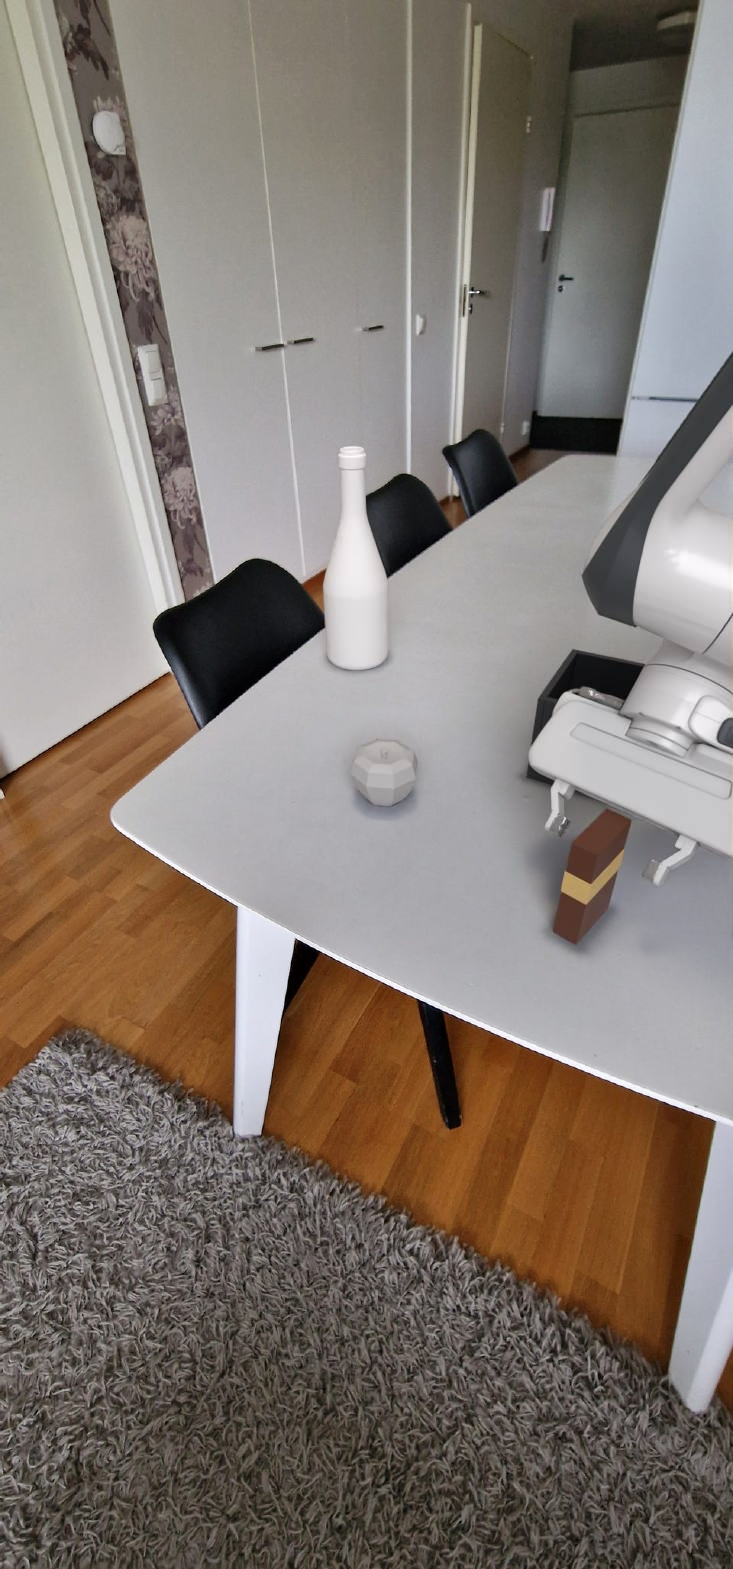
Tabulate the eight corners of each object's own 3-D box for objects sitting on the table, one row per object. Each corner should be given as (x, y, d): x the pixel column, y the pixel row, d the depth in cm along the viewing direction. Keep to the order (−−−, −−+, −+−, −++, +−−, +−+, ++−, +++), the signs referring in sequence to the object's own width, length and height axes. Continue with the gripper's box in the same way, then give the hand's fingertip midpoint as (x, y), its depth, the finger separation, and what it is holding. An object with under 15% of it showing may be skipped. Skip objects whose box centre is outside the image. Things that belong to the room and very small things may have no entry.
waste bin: (666, 749, 88) (688, 672, 81) (643, 810, 78) (667, 728, 72) (559, 723, 93) (572, 648, 87) (526, 777, 84) (537, 698, 77)
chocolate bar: (608, 908, 67) (633, 819, 60) (576, 945, 63) (598, 856, 57) (585, 895, 68) (606, 807, 61) (551, 931, 65) (570, 842, 58)
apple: (427, 812, 79) (429, 764, 75) (359, 824, 77) (358, 776, 73) (406, 771, 85) (407, 725, 81) (343, 782, 83) (341, 736, 80)
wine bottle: (392, 646, 112) (393, 441, 94) (382, 674, 105) (381, 458, 87) (334, 642, 114) (324, 440, 96) (320, 670, 106) (307, 456, 88)
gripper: (560, 668, 65) (489, 799, 65) (797, 751, 53) (710, 910, 54) (577, 692, 70) (511, 814, 70) (796, 772, 59) (717, 917, 59)
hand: (599, 856), depth 62 cm, fingers open, 8 cm apart
